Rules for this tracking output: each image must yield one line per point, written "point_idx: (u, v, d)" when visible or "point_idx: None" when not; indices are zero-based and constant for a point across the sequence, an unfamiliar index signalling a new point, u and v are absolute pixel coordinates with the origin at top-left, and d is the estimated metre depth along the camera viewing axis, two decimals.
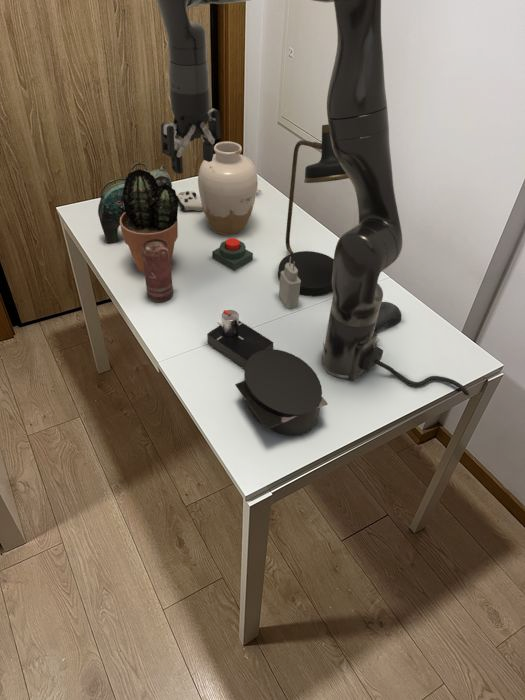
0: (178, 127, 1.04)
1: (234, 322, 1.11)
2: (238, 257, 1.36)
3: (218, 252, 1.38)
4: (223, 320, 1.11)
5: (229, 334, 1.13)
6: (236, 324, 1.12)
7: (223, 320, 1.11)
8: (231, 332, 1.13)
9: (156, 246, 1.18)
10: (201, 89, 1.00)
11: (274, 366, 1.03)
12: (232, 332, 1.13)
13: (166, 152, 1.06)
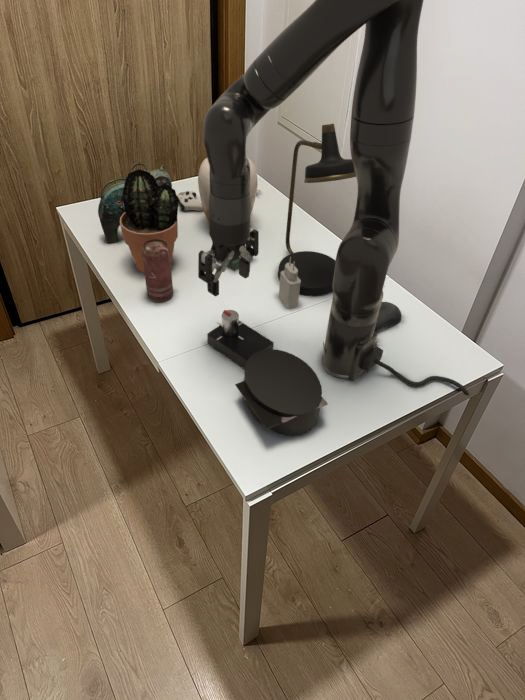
0: (216, 254, 0.98)
1: (234, 322, 1.11)
2: None
3: None
4: (223, 320, 1.11)
5: (229, 334, 1.13)
6: (236, 324, 1.12)
7: (223, 320, 1.11)
8: (231, 332, 1.13)
9: (156, 246, 1.18)
10: (243, 220, 0.94)
11: (274, 366, 1.03)
12: (232, 332, 1.13)
13: (203, 279, 1.00)
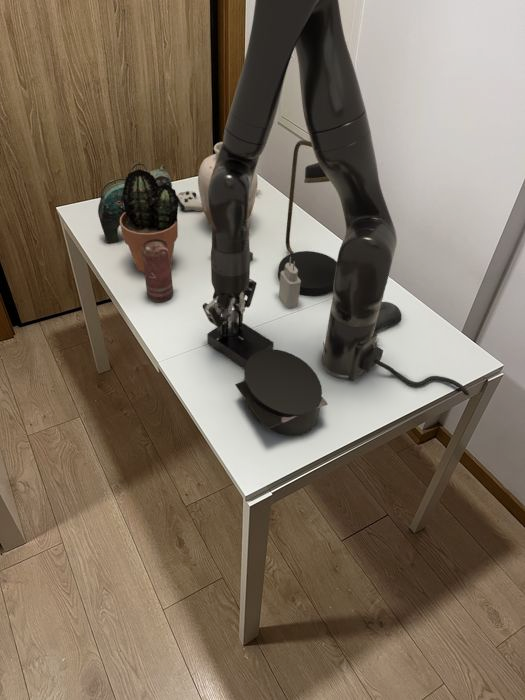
0: (219, 303, 1.05)
1: (234, 322, 1.11)
2: None
3: None
4: None
5: (229, 334, 1.13)
6: (236, 324, 1.12)
7: None
8: (231, 332, 1.13)
9: (156, 246, 1.18)
10: (243, 271, 1.01)
11: (274, 366, 1.03)
12: (232, 332, 1.13)
13: (213, 323, 1.08)
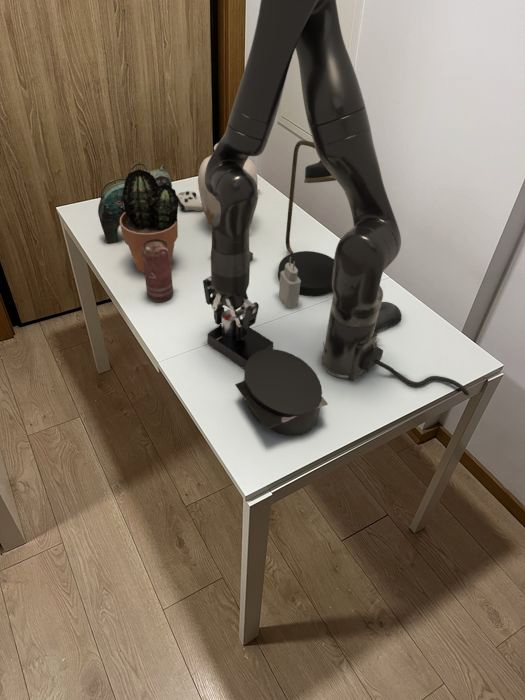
0: None
1: None
2: None
3: None
4: (235, 321, 1.11)
5: None
6: None
7: None
8: None
9: (156, 246, 1.18)
10: None
11: (274, 366, 1.03)
12: None
13: (251, 324, 1.08)
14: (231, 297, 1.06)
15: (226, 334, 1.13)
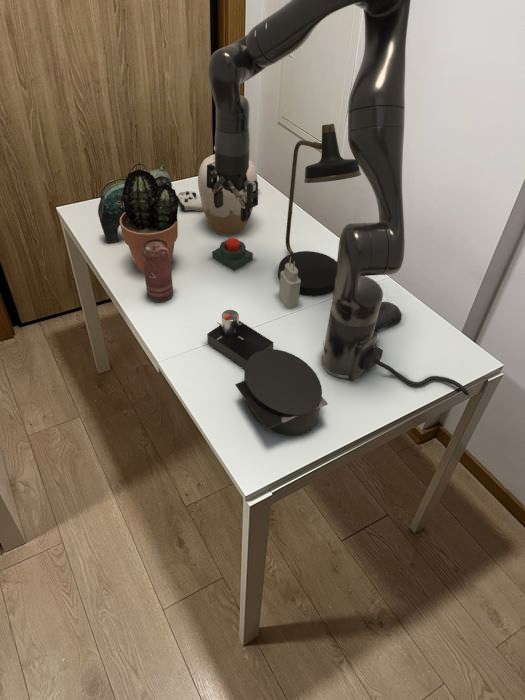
0: None
1: None
2: (238, 257, 1.36)
3: (218, 252, 1.38)
4: (235, 321, 1.11)
5: (238, 328, 1.14)
6: None
7: (235, 320, 1.11)
8: None
9: (156, 246, 1.18)
10: None
11: (274, 366, 1.03)
12: None
13: (254, 205, 1.20)
14: (233, 179, 1.19)
15: (226, 334, 1.13)
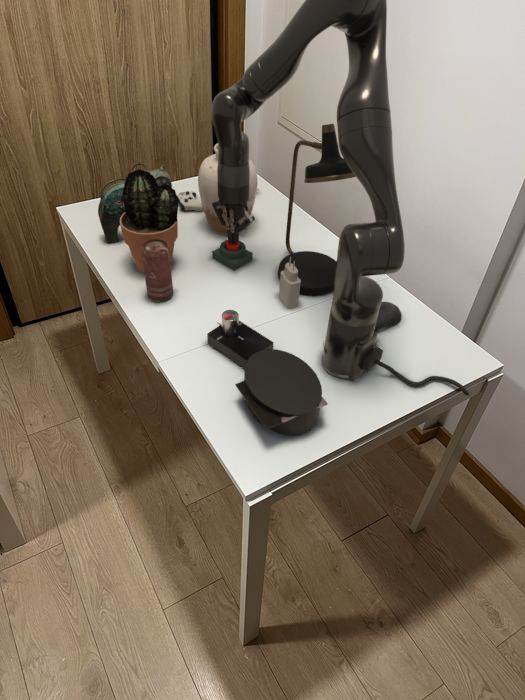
0: None
1: None
2: (238, 257, 1.36)
3: (218, 252, 1.38)
4: (235, 321, 1.11)
5: (238, 328, 1.14)
6: None
7: (235, 320, 1.11)
8: None
9: (156, 246, 1.18)
10: None
11: (274, 366, 1.03)
12: None
13: (242, 230, 1.31)
14: (234, 208, 1.27)
15: (226, 334, 1.13)
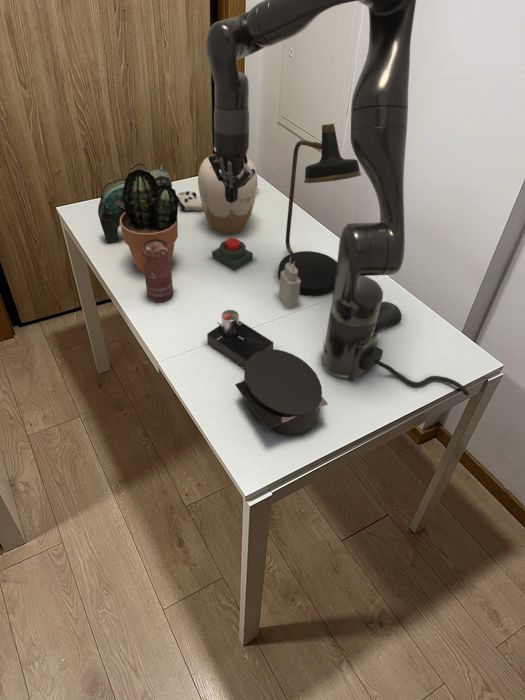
0: None
1: None
2: (238, 257, 1.36)
3: (218, 252, 1.38)
4: (235, 321, 1.11)
5: (238, 328, 1.14)
6: None
7: (235, 320, 1.11)
8: None
9: (156, 246, 1.18)
10: None
11: (274, 366, 1.03)
12: None
13: (241, 186, 1.21)
14: (232, 160, 1.17)
15: (226, 334, 1.13)
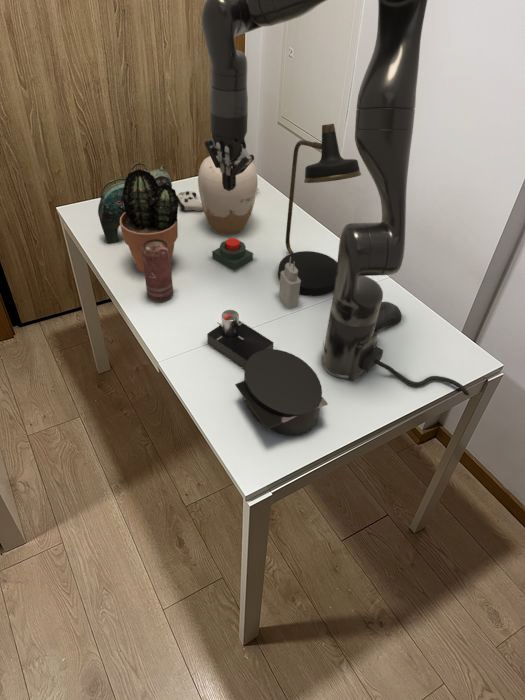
0: None
1: None
2: (238, 257, 1.36)
3: (218, 252, 1.38)
4: (235, 321, 1.11)
5: (238, 328, 1.14)
6: None
7: (235, 320, 1.11)
8: None
9: (156, 246, 1.18)
10: None
11: (274, 366, 1.03)
12: None
13: (239, 173, 1.15)
14: (230, 145, 1.10)
15: (226, 334, 1.13)
